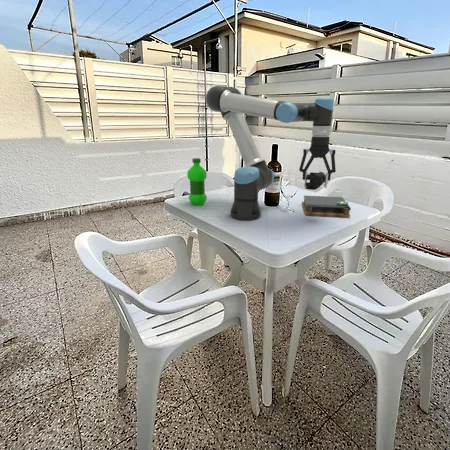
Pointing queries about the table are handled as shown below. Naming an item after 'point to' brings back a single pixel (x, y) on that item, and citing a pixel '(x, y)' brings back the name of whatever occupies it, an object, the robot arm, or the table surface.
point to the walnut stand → (326, 211)
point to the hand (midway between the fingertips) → (315, 186)
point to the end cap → (315, 180)
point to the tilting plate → (326, 201)
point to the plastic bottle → (197, 183)
